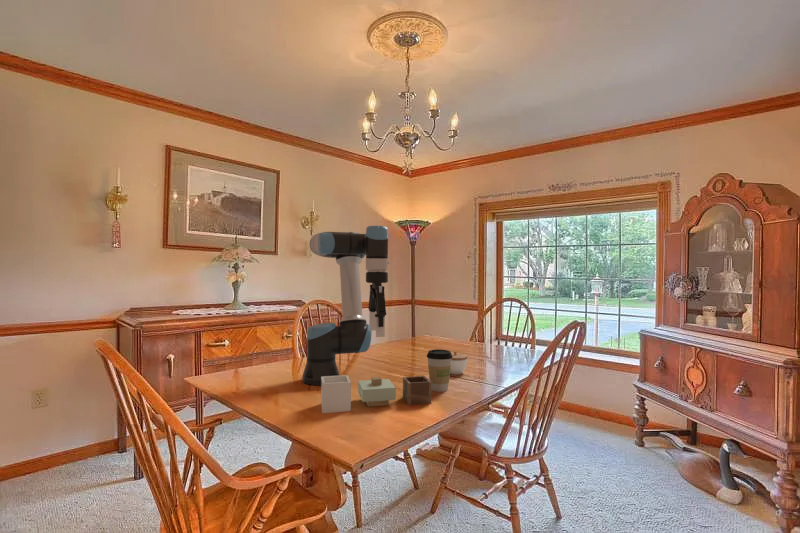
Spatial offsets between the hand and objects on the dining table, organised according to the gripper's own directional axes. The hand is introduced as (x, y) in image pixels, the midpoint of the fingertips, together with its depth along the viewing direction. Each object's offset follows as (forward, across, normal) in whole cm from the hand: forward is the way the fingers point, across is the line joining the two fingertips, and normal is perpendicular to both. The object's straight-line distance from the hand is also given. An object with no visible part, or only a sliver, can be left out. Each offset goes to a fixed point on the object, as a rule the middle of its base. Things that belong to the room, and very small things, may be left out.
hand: (376, 333), depth 141 cm
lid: (+21, 0, 0) cm, 21 cm away
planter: (+24, -2, +14) cm, 28 cm away
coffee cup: (+24, +10, -26) cm, 37 cm away
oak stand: (+24, 0, 0) cm, 24 cm away
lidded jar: (+25, +35, -42) cm, 60 cm away
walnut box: (+24, -1, -14) cm, 28 cm away
